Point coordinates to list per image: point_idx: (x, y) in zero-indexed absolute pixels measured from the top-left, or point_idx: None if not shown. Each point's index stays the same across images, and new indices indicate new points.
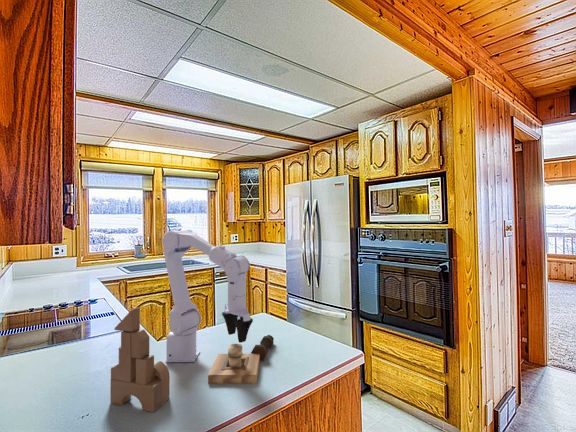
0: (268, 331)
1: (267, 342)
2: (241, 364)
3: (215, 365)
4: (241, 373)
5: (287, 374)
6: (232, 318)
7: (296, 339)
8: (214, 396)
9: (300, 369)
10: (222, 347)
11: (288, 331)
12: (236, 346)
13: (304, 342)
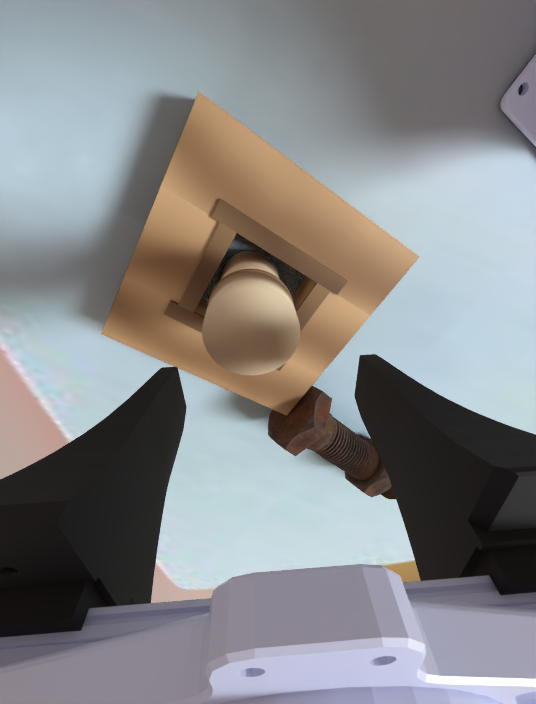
0: None
1: (346, 470)
2: None
3: (294, 187)
4: (138, 282)
5: None
6: (420, 490)
7: (352, 530)
8: (54, 84)
9: None
10: (515, 316)
11: None
12: (247, 342)
13: (317, 536)
